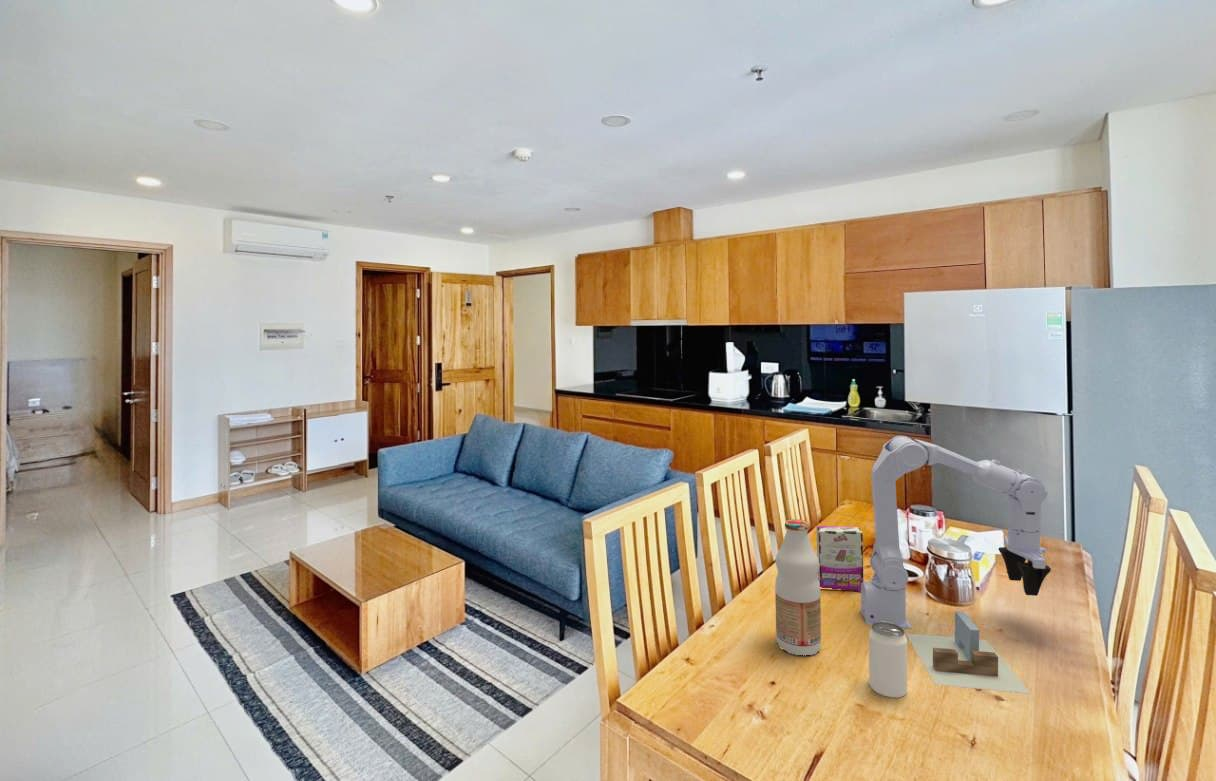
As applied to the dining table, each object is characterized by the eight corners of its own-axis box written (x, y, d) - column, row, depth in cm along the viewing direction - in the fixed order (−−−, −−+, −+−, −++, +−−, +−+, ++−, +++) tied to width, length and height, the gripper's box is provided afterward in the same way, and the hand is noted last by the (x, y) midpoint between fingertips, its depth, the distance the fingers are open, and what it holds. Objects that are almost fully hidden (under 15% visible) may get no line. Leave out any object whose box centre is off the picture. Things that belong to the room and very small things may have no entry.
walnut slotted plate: (935, 671, 109) (935, 651, 108) (932, 666, 110) (932, 647, 110) (998, 676, 106) (998, 657, 106) (994, 671, 108) (994, 652, 107)
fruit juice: (777, 655, 117) (775, 528, 115) (775, 632, 126) (773, 514, 124) (824, 659, 115) (822, 530, 113) (818, 636, 124) (816, 516, 122)
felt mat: (935, 685, 105) (935, 684, 105) (905, 634, 123) (905, 633, 123) (1031, 695, 101) (1031, 693, 101) (985, 641, 119) (985, 639, 119)
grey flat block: (969, 662, 111) (970, 629, 111) (954, 641, 119) (955, 610, 118) (978, 663, 111) (979, 630, 110) (962, 642, 118) (963, 611, 118)
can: (905, 703, 100) (906, 641, 99) (867, 693, 103) (867, 632, 102) (908, 684, 105) (908, 625, 104) (871, 675, 109) (871, 617, 108)
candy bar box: (859, 584, 149) (859, 526, 148) (864, 592, 144) (863, 532, 143) (816, 582, 152) (815, 524, 151) (819, 590, 147) (818, 530, 146)
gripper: (1063, 540, 113) (1061, 603, 114) (1028, 518, 127) (1027, 575, 128) (1023, 538, 115) (1022, 600, 116) (994, 517, 129) (993, 573, 130)
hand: (1022, 587), depth 122 cm, fingers open, 7 cm apart
